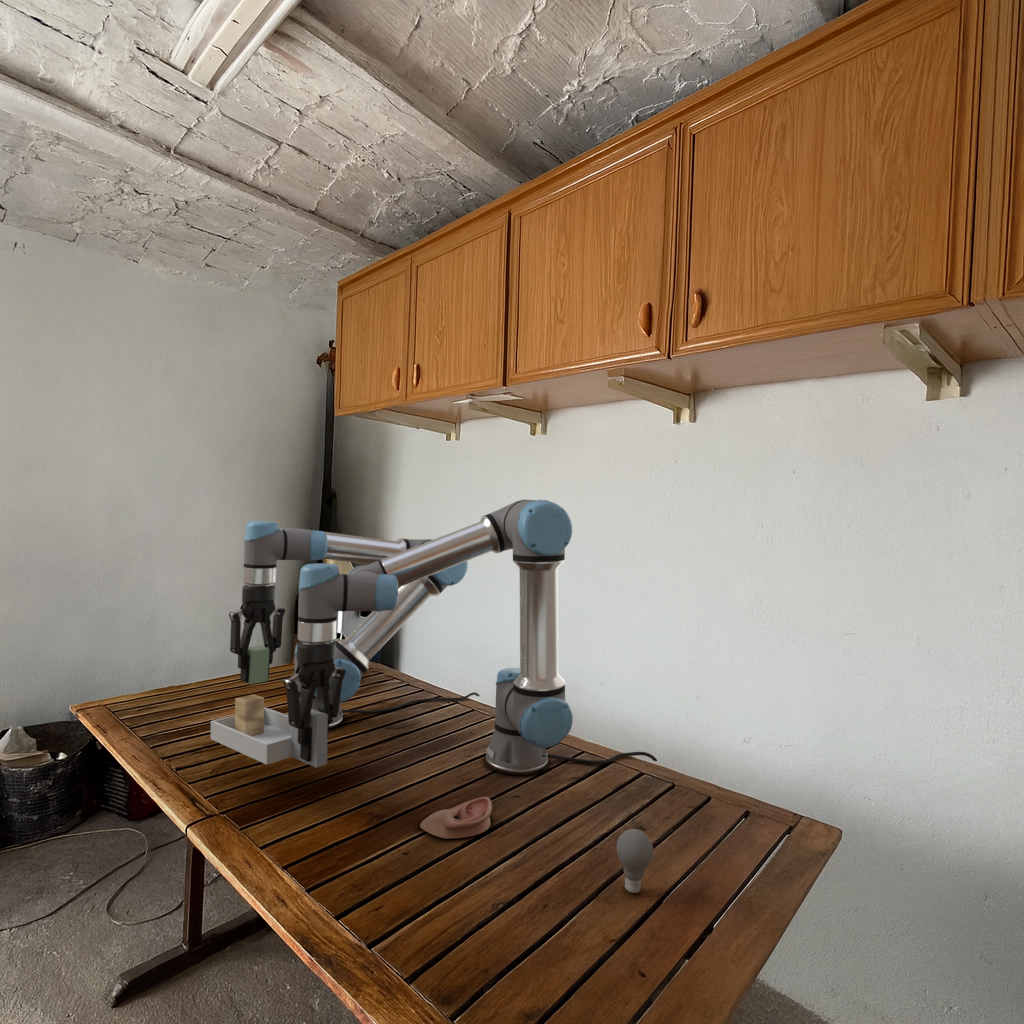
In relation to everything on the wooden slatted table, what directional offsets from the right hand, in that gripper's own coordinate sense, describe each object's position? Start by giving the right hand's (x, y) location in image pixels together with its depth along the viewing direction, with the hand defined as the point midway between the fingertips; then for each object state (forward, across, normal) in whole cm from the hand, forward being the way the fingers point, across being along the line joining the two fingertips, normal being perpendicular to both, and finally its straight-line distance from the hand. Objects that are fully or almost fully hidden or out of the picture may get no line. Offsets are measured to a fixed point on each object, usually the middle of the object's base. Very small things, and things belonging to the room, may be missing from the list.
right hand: (312, 756), depth 128 cm
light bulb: (+11, -21, +61) cm, 66 cm away
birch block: (+2, 0, -24) cm, 24 cm away
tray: (+2, 0, -13) cm, 13 cm away
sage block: (-7, -7, -35) cm, 36 cm away
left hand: (-7, -7, -35) cm, 37 cm away
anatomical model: (+11, -16, +25) cm, 32 cm away
